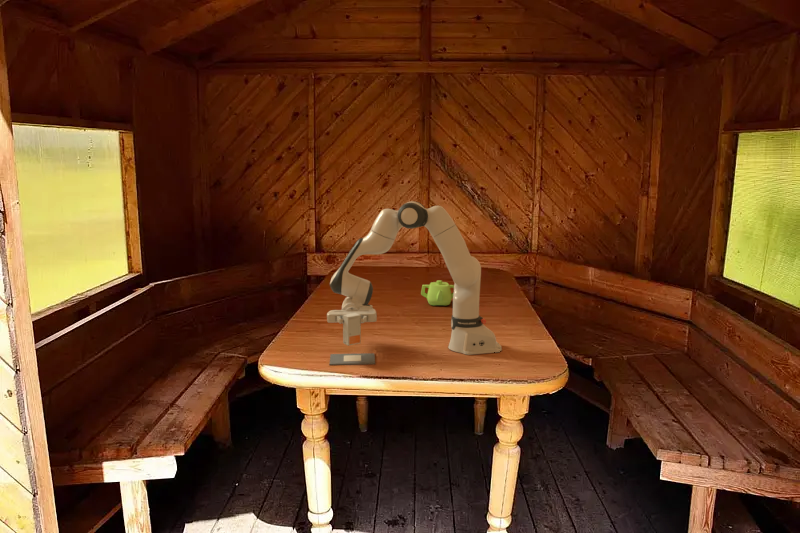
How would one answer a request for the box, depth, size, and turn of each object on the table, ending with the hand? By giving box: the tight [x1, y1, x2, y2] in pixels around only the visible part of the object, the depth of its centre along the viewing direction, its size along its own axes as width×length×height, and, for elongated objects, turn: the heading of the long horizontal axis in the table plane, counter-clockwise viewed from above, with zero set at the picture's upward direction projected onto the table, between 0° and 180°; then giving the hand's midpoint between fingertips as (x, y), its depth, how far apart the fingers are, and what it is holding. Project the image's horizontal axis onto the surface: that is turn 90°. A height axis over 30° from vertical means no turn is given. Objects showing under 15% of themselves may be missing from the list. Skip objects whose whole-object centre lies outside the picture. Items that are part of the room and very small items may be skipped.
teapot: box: [420, 279, 454, 307], centre depth 349 cm, size 18×20×13 cm
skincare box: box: [342, 313, 362, 346], centre depth 257 cm, size 6×4×12 cm
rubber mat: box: [329, 352, 376, 366], centre depth 259 cm, size 18×12×1 cm, turn 94°
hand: (351, 321), depth 256 cm, fingers closed on skincare box, 7 cm apart
